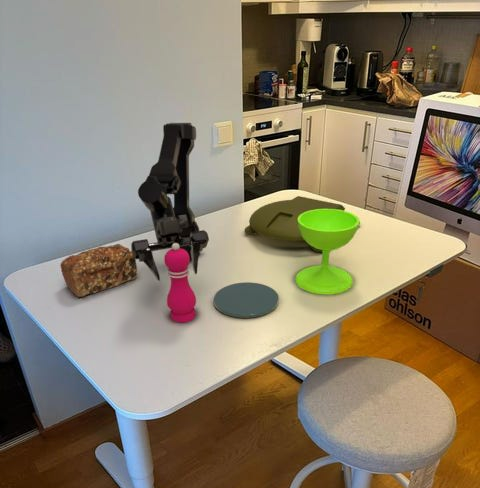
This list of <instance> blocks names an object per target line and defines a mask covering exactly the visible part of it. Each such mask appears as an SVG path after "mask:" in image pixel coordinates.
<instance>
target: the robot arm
mask: <svg viewBox="0 0 480 488" xmlns="http://www.w3.org/2000/svg"><path fill="white" fill-rule="evenodd" d="M162 127H163V129H162V130H163V138H162V142H161V146H160V151H159V156H158V160H157V162H156V163H155V164H153V165H152V166H151V168H150V171H149V173H148V175H147V177H146V179H145V180H144V181H143V182H142V183H141V184H140V185H139V188H138V189H137V195H138V197H139V199H140V200H141V202H142V203H143V204H144V206H145V208H146V209H147V210H148V211H150V217H151V220H152V224H153V225H152V226H153V230H154V233H155V237H156V242H150V243H149V240H148V239H147V238H144V239H139V240H133V241H132V242H131V244H130V245H131V246H130V247H131V248H130V249H131V251H130V252H132V256H133V259H135V260H136V261H137V260H138V262H140V263H141V262H143V263H144V264H145V266H147V268H149V270H150V271H151V273H152V274H153V276H154V277H155V278H156V280H157V282H160V281H161V278H160V273H159V270H158V267H157V263H156V262H155V258H154V255H153V252H157V251H162V250H170V249H172V245H173V244H174V243H177V244H179V246H180V247H179V248H182V249H184V250H186V251H187V252H188V254H189V257H190V262H191V263H192V270H193V273H194V275H197V274H198V266H199V256H200V255H201V252H203V250H204V249H206V248H207V246H208V242H209V241H210V238H209V234H208V232H207V231H206V230H204V229H201V230H200V227H199V225H198V222H197V221H196V216H195V214H194V212H193V210H192V209H191V207H190V155H191V153H192V151H193V150H194V148H195V141H197V140H196V139H197V128H196V126H194V125H192V122H169V123H166V124H163V125H162ZM168 195H173V202H172V198H171V197H169V196H168Z"/></svg>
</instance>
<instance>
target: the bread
mask: <svg viewBox="0 0 480 488" xmlns="http://www.w3.org/2000/svg"><path fill="white" fill-rule="evenodd" d="M59 266H60V271H61V274H62V278H63V280H64V283H65V286H66V287H67V288H68V289H69V290H70V292H72V293H73V295H75V296H76V297H77V298H81V297H82V298H83V297H85V296H86V295H89V294H91V295H92V294H95V293H98V292H102V291H105V290H108V289H112V288H114V287H118V286H120V285H121V284H124V283H127V282H129V281H131V280H135V279H136V278H137V277H138V266H137V259H136V260H135V259H133V256H132V251H130V248H128V247H125V246H123V245H122V244H120V243H117V244H113V245H107V246H98V247H95V248H91V249H87V250H85V251H82V252H80V253H77V254H72V255H69V256H68V257H66V258H64V259H63V260H62V261H61V263H60V265H59Z"/></svg>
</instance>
